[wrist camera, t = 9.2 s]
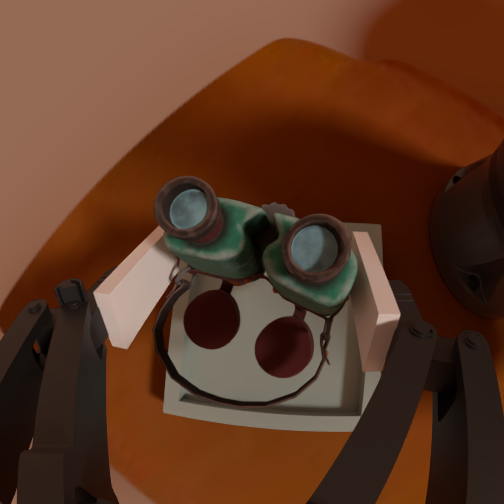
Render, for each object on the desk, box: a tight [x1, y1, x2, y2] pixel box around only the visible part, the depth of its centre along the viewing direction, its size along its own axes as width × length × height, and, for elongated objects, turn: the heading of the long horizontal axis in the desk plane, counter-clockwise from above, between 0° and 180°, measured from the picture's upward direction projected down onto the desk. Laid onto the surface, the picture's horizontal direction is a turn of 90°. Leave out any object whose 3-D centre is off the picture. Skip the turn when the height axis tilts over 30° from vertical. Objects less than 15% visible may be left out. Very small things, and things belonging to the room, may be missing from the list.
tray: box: [163, 222, 383, 432], centre depth 24 cm, size 16×16×2 cm
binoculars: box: [153, 176, 358, 408], centre depth 14 cm, size 9×11×10 cm
